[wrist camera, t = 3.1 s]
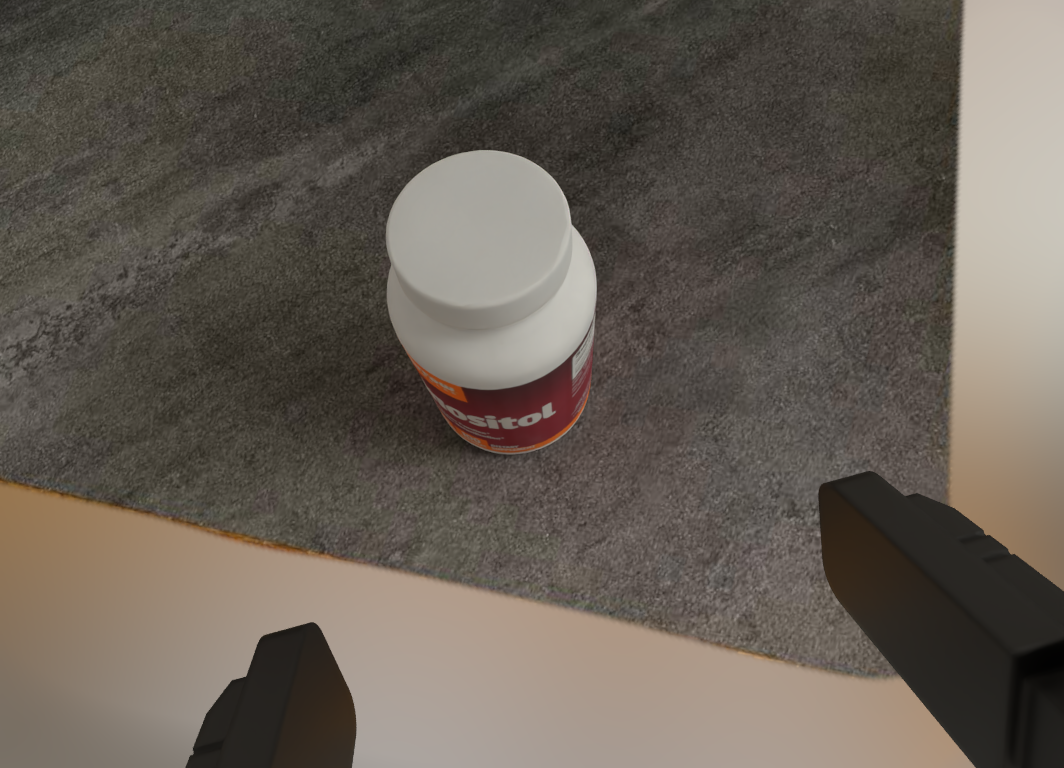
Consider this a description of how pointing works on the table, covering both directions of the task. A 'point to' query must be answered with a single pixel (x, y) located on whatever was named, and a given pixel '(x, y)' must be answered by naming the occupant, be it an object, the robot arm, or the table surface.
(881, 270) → the table surface
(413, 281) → the pill bottle
